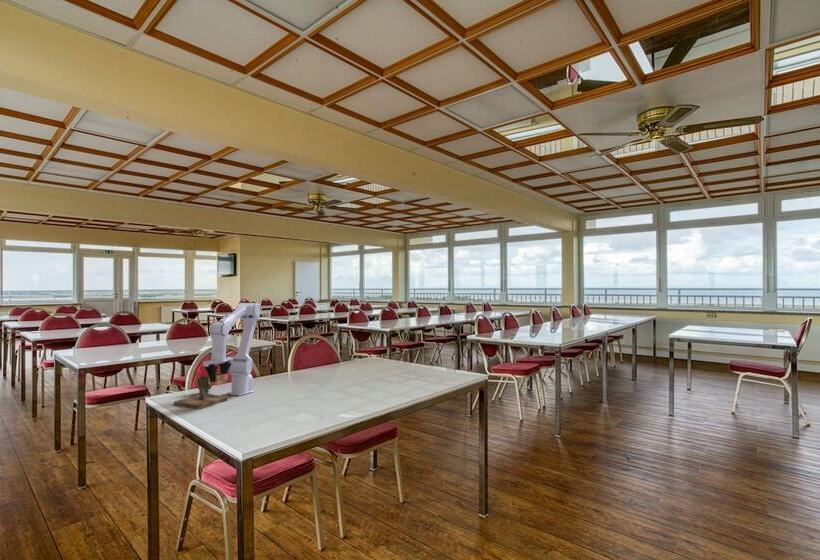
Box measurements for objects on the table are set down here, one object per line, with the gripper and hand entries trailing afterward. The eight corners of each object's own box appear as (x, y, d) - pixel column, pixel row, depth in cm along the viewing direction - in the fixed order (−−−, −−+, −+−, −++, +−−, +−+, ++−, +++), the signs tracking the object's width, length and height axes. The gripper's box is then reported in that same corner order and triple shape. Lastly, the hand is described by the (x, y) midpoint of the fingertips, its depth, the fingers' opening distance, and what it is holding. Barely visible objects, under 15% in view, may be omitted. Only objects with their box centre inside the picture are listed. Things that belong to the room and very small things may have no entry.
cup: (194, 395, 198) (194, 378, 198) (197, 392, 205) (198, 375, 205) (211, 395, 200) (212, 378, 200) (214, 391, 207) (214, 374, 207)
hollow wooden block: (218, 381, 191) (218, 372, 191) (227, 383, 189) (227, 374, 189) (208, 384, 186) (208, 375, 186) (217, 385, 184) (217, 376, 184)
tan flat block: (205, 396, 197) (205, 383, 197) (227, 400, 192) (228, 387, 192) (173, 404, 182) (174, 390, 183) (197, 409, 177) (197, 394, 177)
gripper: (212, 352, 179) (211, 384, 179) (238, 348, 193) (237, 378, 192) (200, 351, 182) (198, 382, 182) (226, 347, 195) (225, 376, 195)
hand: (217, 380), depth 187 cm, fingers closed on hollow wooden block, 5 cm apart
